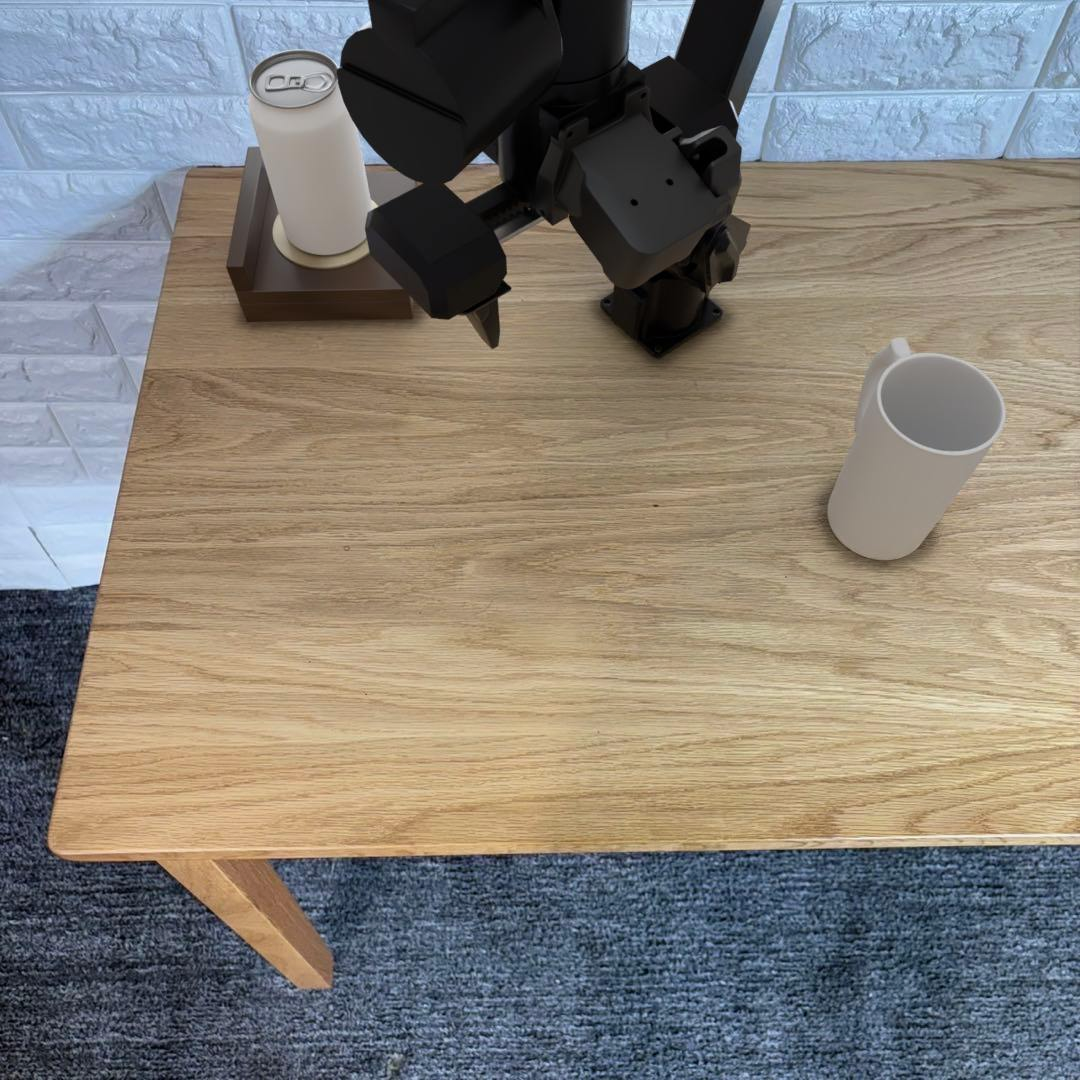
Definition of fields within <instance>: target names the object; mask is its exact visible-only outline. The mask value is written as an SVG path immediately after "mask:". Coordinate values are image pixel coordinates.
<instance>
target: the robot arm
mask: <svg viewBox="0 0 1080 1080" xmlns="http://www.w3.org/2000/svg"><path fill="white" fill-rule="evenodd" d="M783 3H784V0H692V3H691V6H690V10H689V12H688V16H687V18H686V21H685V24H684V27H683V31H682V33H681V36H680V39H679V42H678V44H677V48H676V50H675V54H674V57H672V56H671V55H669V54H668V55H666V56H664V57H662V58H661V59H659V60H657V61H655V62H653V63H651V64H649V65H647V66H645V67H644V68H640V67H638V66H637V65H636V64H635V63H633V62H632V61H630V60H629V52H630V37H631V27H632V26H631V25H632V12H633V0H367V5H368V11H369V17H370V20H369V21H368V22H366V23H364V25H362V26H361V27H360V28H358V29H357V30H356V31H355V32H354V33H352V35H350V36H349V37H348V38H347V39H346V40H345V42H344V45H343V47H342V49H341V53H340V61H339V62H340V63H339V66H338V69H337V72H336V73H337V80H338V86H339V89H340V92H341V95H342V99H343V102H344V104H345V106H346V109H347V111H348V113H349V115H350V117H351V119H352V121H353V122H354V124H355V126H356V127H357V129H358V133H359V134H360V135H361V137H362V138H363V139H364V140H365V142H366V143H367V144H368V145H369V146H370V148H371V149H372V150H373V151H374V152H375V154H377V155H378V157H380V158H381V159H382V160H383V161H384V162H385V163H387V165H388V166H389V167H391V168H392V169H394V171H398V172H400V173H401V174H403V175H404V176H406V177H408V178H410V179H412V180H414V181H417V183H421V184H419V185H417V187H415V188H413V189H411V190H409V191H407V192H405V193H403V194H401V195H399V196H398V197H396V198H394V199H392V200H390V201H388V202H386V203H384V204H382V205H380V206H378V207H376V208H375V209H373V210H371V211H369V212H368V213H367V218H366V224H365V232H366V237H367V242H368V247H369V252H370V255H371V256H372V257H373V258H374V259H375V260H376V261H377V262H378V263H379V264H380V265H381V266H382V267H383V269H384V270H385V271H386V272H387V273H388V274H389V275H390V276H391V277H392V278H393V279H394V280H395V281H396V282H397V283H398V284H399V285H400V286H401V287H402V288H403V289H404V290H405V291H406V292H407V293H408V294H409V295H410V296H411V298H412V299H413V300H414V303H416V304H417V305H418V306H419V308H421V309H422V310H423V311H424V312H425V313H426V314H427V315H428V316H429V317H430V319H433V320H434V319H435V320H445V321H449V320H451V319H453V318H455V317H456V316H459V317H461V316H465V317H466V318H467V320H468V321H469V322H470V324H471V325H472V327H473V328H474V330H475V331H476V333H477V334H478V336H479V337H480V339H481V340H482V341H483V342H484V343H485V344H486V345H487V346H488V347H489V348H490V349H491V350H495V349H496V348H498V347H499V345H500V337H501V323H500V310H499V308H500V307H499V298H501V297H503V296H504V295H506V294H508V293H509V292H511V291H512V290H513V289H512V287H511V286H510V284H508V283H507V281H505V278H506V276H507V274H508V262H507V255H506V253H505V251H504V249H503V247H502V245H503V244H504V243H506V242H508V241H510V240H512V239H513V238H514V237H517V236H518V235H520V234H522V233H524V232H526V231H527V230H530V229H531V228H533V227H534V226H537V225H538V224H540V223H542V222H544V221H546V222H547V223H549V225H551V226H552V227H553V226H555V225H557V224H559V223H561V222H562V221H564V220H566V219H568V220H569V223H570V224H571V226H572V227H573V229H574V230H575V232H576V233H577V234H578V236H579V237H580V239H581V240H582V241H583V243H584V244H585V245H586V247H587V249H589V251H590V252H591V253H592V255H593V256H594V257H595V259H596V260H597V262H598V263H599V265H600V266H601V268H602V271H603V273H604V275H605V276H606V278H607V279H608V280H609V281H610V282H611V283H612V284H613V291H612V292H611V293H609V294H607V295H605V296H603V297H602V298H601V299H600V303H599V307H600V309H601V310H602V311H603V313H605V314H606V315H607V316H608V317H609V318H610V320H611V321H612V322H613V323H614V324H615V325H617V327H619V328H620V329H621V330H622V331H623V332H624V333H625V334H626V335H627V336H628V337H629V338H630V339H631V340H633V341H635V342H636V343H637V344H639V346H641V347H642V348H643V349H644V350H645V351H647V353H648V354H649V355H650V356H652V358H656V359H661V358H663V357H665V356H666V355H667V354H670V353H671V352H673V351H675V350H676V349H677V348H679V347H680V346H681V345H683V344H685V343H686V342H688V341H689V340H691V339H693V338H694V337H695V336H697V335H699V334H700V333H702V332H703V331H705V330H707V329H708V328H710V327H712V325H714V324H716V323H718V321H719V322H720V320H721V319H722V318H723V315H724V311H723V309H722V308H721V307H720V306H719V305H718V304H717V303H715V302H714V301H713V300H712V299H711V298H710V293H711V291H712V290H713V289H714V288H715V286H716V285H717V284H719V285H721V284H722V283H723V284H724V283H730V282H732V281H733V280H734V279H735V278H736V276H737V273H738V268H739V264H740V256H741V254H742V252H743V251H744V250H745V249H746V246H747V243H748V241H747V238H748V235H749V233H750V230H751V227H752V225H751V223H749V222H747V221H745V220H743V219H742V218H739V217H738V216H735V215H734V214H732V213H733V209H734V206H735V203H736V200H737V197H738V195H739V191H740V188H741V186H742V182H743V179H742V177H743V176H742V171H741V163H742V162H741V161H742V151H743V147H742V146H741V144H740V143H739V142H738V141H737V137H738V133H739V132H738V131H739V126H740V123H739V117H740V115H741V112H742V110H743V107H744V104H745V102H746V100H747V96H748V93H749V91H750V89H751V85H752V83H753V81H754V78H755V76H756V73H757V71H758V68H759V65H760V62H761V59H762V58H763V54H764V52H765V50H766V47H767V44H768V41H769V39H770V37H771V33H772V30H773V28H774V27H775V23H776V21H777V19H778V16H779V12H780V10H781V8H782V5H783ZM482 153H483V154H484V155H486V156H487V157H488V158H489V159H490V160H491V161H492V162H494V163H495V164H496V165H497V167H498V174H499V178H500V181H501V183H500V184H498V185H495V186H493V187H492V188H490V189H488V190H486V191H484V192H483V193H481V194H479V195H477V196H475V197H474V198H472V199H470V200H468V201H466V202H465V201H463V199H461V198H460V197H459V196H458V195H457V194H456V193H455V192H454V191H453V190H452V189H451V188H449V186H448V185H446V184H447V183H449V182H452V181H453V180H454V179H455V178H456V177H457V176H458V175H459V174H461V173H462V172H463V171H464V170H465V169H466V168H467V167H468V166H469V165H470V164H471V163H473V161H475V159H476V158H478V156H480V155H481V154H482Z"/></svg>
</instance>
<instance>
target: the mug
mask: <svg viewBox="0 0 1080 1080" xmlns="http://www.w3.org/2000/svg"><path fill="white" fill-rule="evenodd" d="M856 406H857V407H856V412H855V417H854V422H853V430H854V433H855V436H854V439H853V441H852V444H851V446H850V448H849V451H848V453H847V455H846V456H845V457H846V458H845V460H844V463H843V464H842V467H841V469H840V472H839V474H838V476H837V479H836V482H835V484H834V487H833V489H832V492H831V494H830V496H829V499H828V502H827V503H828V504H827V509H826V510H827V511H826V512H827V513H826V514H827V520H828V524H829V526H830V529H831V531H832V532H833V534H834V535H835V537H836V539H838V540H839V541H840V543H841V544H843V546H845V547H846V548H847V549H849V550H850V551H852V552H854V553H855V554H857V555H859V556H861V557H864V558H867V559H871V560H877V561H893V560H898V559H901V558H903V557H907V556H909V555H910V554H912V553H913V552H915V550H917V549H918V548H919V547H920V546H921V544H922V543H923V542H924V541H925V539H926V538H927V536H928V535H929V534H930V533H931V532H932V531H933V528H934V527H935V526H936V525H937V524H938V522H939V521H940V519H941V518H942V517H943V515H944V514H945V513H946V511H947V509H948V508H949V506H950V505H951V504H952V503H953V501H954V499H955V498H956V497H957V495H958V494H959V493H960V491H961V490H962V488H963V487H964V486H965V485H966V483H967V482H968V480H969V479H970V478H971V476H972V475H973V473H974V472H975V471H976V470H977V468H978V466H979V465H980V464H981V462H982V461H983V459H984V458H985V457H986V455H987V454H988V453H989V451H990V449H991V448H992V446H993V445H994V443H995V441H996V440H997V439H998V438H999V437H1000V435H1001V434H1002V433H1003V429H1004V427H1005V424H1006V421H1007V420H1006V418H1007V410H1006V403H1005V401H1004V398H1003V395H1002V394H1001V391H1000V390H999V387H997V385H996V384H995V383H994V381H992V379H991V378H990V377H989V376H988V375H987V374H986V373H985V372H983V371H982V370H981V369H979V368H978V367H976V366H975V365H973V364H972V363H970V362H968V361H966V360H963V359H961V358H958V357H956V356H952V355H948V354H943V353H937V352H936V353H935V352H920V353H914V354H912V350H911V348H910V346H909V343H908V340H907V338H906V337H895V338H892V339H891V340H890V341H889V343H888V345H886V346H885V347H883V348H882V349H880V350H879V351H878V352H877V353H876V354H875V355H874V356H873V358H872V359H871V361H870V363H869V365H868V367H867V369H866V372H865V375H864V377H863V381H862V384H861V389H860V391H859V396H858V401H857V405H856Z"/></svg>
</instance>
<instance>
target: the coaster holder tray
mask: <svg viewBox="0 0 1080 1080" xmlns="http://www.w3.org/2000/svg"><path fill="white" fill-rule="evenodd" d="M366 177H367V182H368V188H369V193H370V199H371V204H372V210H373V209H375V208H376V207H378V206H380V205H382V204H384V203H386V202H388V201H390V200H392V199H394V198H396V197H398V196H399V195H401V194H403V193H405V192H407V191H409V190H411V189H413V188H415V187H417V186H418V182H417V181H414V180H412V179H410V178H408V177H406V176H404V175H403V174H401V173H400V172H398V171H397V170H390V171H389V170H387V171H386V170H384V171H383V170H382V171H381V170H379V171H378V170H377V171H366ZM234 215H235V216H234V221H233V225H232V232H231V236H230V241H229V248H228V253H227V259H226V264H225V268H226V271H227V274H228V276H229V280H230V281H231V284H232V287H233V289H234V291H235V295H236V298H237V300H238V304H239V305H240V306H239V307H240V309H241V311H242V313H243V317H244V319H245V321H246V322H277V321H278V322H281V321H282V322H283V321H286V322H287V321H336V320H337V321H338V320H339V321H340V320H343V321H344V320H388V319H389V320H391V319H392V320H394V319H395V320H397V319H398V320H399V319H402V320H403V319H414V314H415V313H414V311H415V301H414V300H413V299H412V298H411V296H410V295H409V294H408V293H407V292H406V291H405V290H404V289H403V288H402V287H401V286H400V285H399V284H398V283H397V282H396V281H395V280H394V279H393V278H392V277H391V276H390V275H389V274H388V273H387V272H386V271H385V270H384V269H383V267H382V266H381V265H380V264H379V263H378V262H377V261H376V260H375V259H374V258H373V257H372V256H371V255H370V252H369V247H368V242H367V238H366V239H365V240H364V241H363V242H362V243H361V244H360V245H358V246H357V247H355V248H354V249H352V250H350V251H348V252H345V253H342V254H338V255H333V256H319V255H313V254H310V253H307V252H305V251H303V250H300V249H299V248H297V247H296V246H294V245H293V244H292V243H291V242H290V241H289V240H288V238H287V236H286V234H285V231H284V228H283V225H282V222H281V219H280V215H279V212H278V209H277V205H276V202H275V199H274V195H273V192H272V188H271V185H270V182H269V178H268V175H267V172H266V168H265V165H264V161H263V158H262V155H261V151H260V148H259V146H248V147H247V150H246V156H245V160H244V165H243V171H242V177H241V182H240V187H239V193H238V199H237V204H236V210H235V214H234Z"/></svg>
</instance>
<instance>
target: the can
mask: <svg viewBox="0 0 1080 1080" xmlns="http://www.w3.org/2000/svg"><path fill="white" fill-rule="evenodd" d="M338 68H339V66H338V64H337V63H336V62H335V60H334V59H332V58H331V57H329V56H328V55H326V54H324V53H322V52H320V51H316V50H312V49H302V48H298V49H297V48H296V49H288V50H283V51H279V52H276V53H273V54H271V55H269V56H267V57H265V58H264V59H262V60H261V61H259V62H258V63H257V64H255V66H254V67H253V69H252V70H251V72H250V73H249V77H248V89H249V91H250V92H249V96H248V111H249V117H250V121H251V124H252V126H253V130H254V134H255V137H256V141H257V144H258V147H259V148H260V151H261V155H262V158H263V161H264V165H265V168H266V172H267V175H268V178H269V182H270V185H271V188H272V192H273V195H274V199H275V202H276V205H277V209H278V212H279V215H280V219H281V222H282V225H283V228H284V231H285V234H286V236H287V238H288V240H289V241H290V242H291V243H292V244H293V245H294V246H296V247H297V248H299V249H300V250H303V251H305V252H307V253H310V254H313V255H319V256H333V255H338V254H342V253H345V252H348V251H350V250H352V249H354V248H355V247H357V246H358V245H360V244H361V243H362V242H363V241H364V240H365V239H366V238H367V237H366V232H365V224H366V218H367V213H368V212H369V211H371V210H372V204H371V199H370V193H369V188H368V182H367V177H366V172H367V171H366V167H365V162H364V156H363V151H362V146H361V140H360V133H359V130H358V129H357V127H356V126H355V124H354V122H353V121H352V119H351V117H350V115H349V113H348V111H347V109H346V106H345V104H344V102H343V99H342V95H341V92H340V89H339V86H338V80H337V73H336V72H337V69H338Z"/></svg>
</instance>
